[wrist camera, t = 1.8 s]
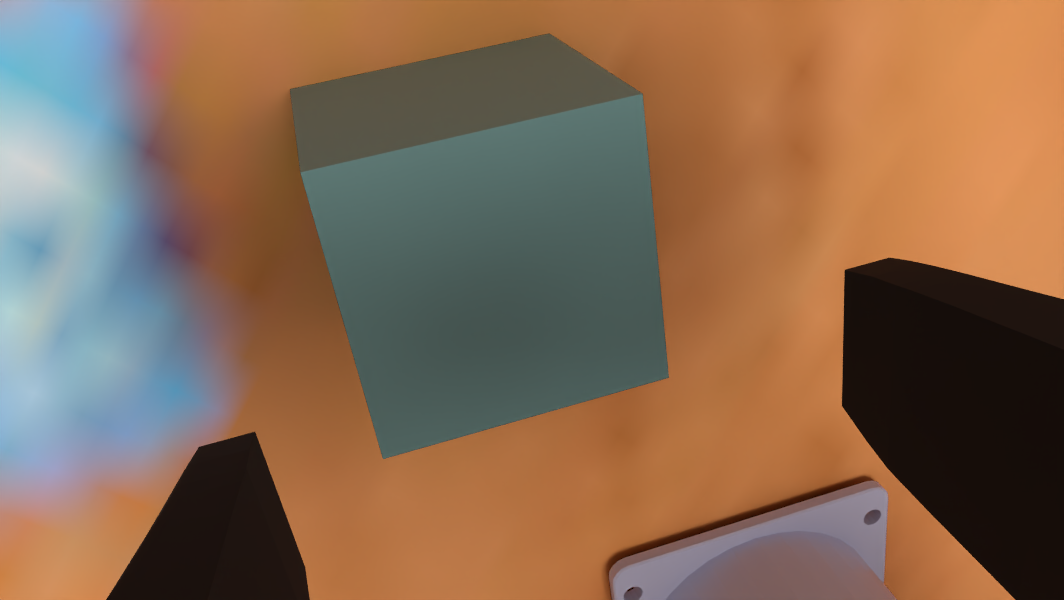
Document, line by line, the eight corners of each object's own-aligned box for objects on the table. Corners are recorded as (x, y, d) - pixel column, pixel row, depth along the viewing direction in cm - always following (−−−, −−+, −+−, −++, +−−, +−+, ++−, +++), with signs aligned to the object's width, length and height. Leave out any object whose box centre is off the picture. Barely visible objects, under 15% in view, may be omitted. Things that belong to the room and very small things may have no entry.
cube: (579, 262, 20) (668, 377, 16) (355, 320, 19) (383, 459, 15) (548, 33, 18) (642, 93, 13) (289, 88, 17) (300, 172, 12)
